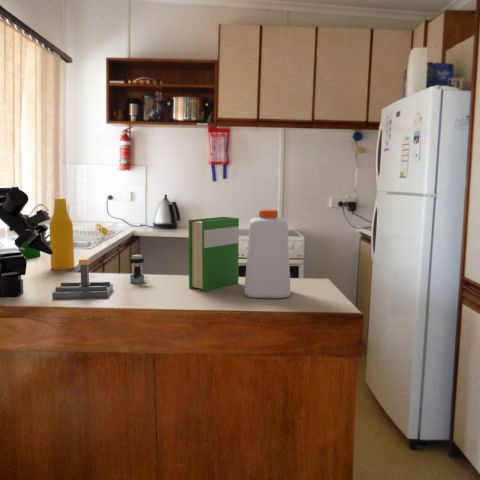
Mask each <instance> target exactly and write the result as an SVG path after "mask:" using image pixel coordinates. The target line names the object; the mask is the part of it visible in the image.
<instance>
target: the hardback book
mask: <svg viewBox="0 0 480 480" xmlns="http://www.w3.org/2000/svg"><path fill="white" fill-rule="evenodd" d="M239 219H240V218H239V217H232V216H231V217H229V216H220V217H219V216H216V217H207V218H195V219H194V218H193V219H188V289H189V290H190V289H191V290H193V289H197V288H198V289H201V291H202V292H203V293H205V292H209V291H213V290H217V289H221V288H225V287H230V286H235V285H238V284H239V246H240V245H239V237H240V235H239V233H240V229H239V228H240V227H239V225H240V220H239Z"/></svg>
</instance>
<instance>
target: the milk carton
mask: <svg viewBox="0 0 480 480" xmlns="http://www.w3.org/2000/svg"><path fill="white" fill-rule="evenodd" d="M23 215H27V214H23ZM38 225H40V223H39V224H38ZM18 236H19V235H17V237H18ZM28 244H29V243H28V241H27V242H26V243H25V244H24V245H23V247H22V248H20V249H19V248H18V247H17V249H18V250H19V251H20V252H22V255H23V256H24V257H25V258H26V259H33V258H38V257H41V251H38V250H35V249H32V248H29V247H26V246H27V245H28Z"/></svg>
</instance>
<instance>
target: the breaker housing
mask: <svg viewBox="0 0 480 480" xmlns="http://www.w3.org/2000/svg"><path fill="white" fill-rule="evenodd" d="M89 283H91V286H79V285H80V284H81V281H73V282H72V281H71V282H70V281H69V282H68V281H65V282H60V285H59V286H56V287H55V290H53V292H52V294H51V295H52V296H51V297H52V300H62V299H63V300H65V299H66V300H69V299H70V300H71V299H81V300H82V299H108V298H109V297H110V295H111V294H112V292H113V289H114V285H113V283H111V281H89ZM111 291H112V292H111ZM108 296H109V297H108Z"/></svg>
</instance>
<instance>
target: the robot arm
mask: <svg viewBox="0 0 480 480" xmlns="http://www.w3.org/2000/svg"><path fill="white" fill-rule="evenodd" d="M28 202H29V195H28V194H27V193H26V192H25V191H24V190H22V189H20V188H19V186H12V185H0V220H1V221H2V222H3V223H4V224H5V225H6V226H7V227H8V231H9V232H14V233H15V234H16V235H17V237H16V238H15V239H14V245H15V246H16V247H6V246H5V245H4V244H3V243H2V242H0V297H18V296H20V295H21V294H23V293H24V279H22V276H25V275H26V273H27V264H28V261H27V258H25V257H24V256H23V255H22V252H20V251H19V250H18V248H19V249H20V248H22V247H23V245H24V244H25V243H26V242H27V241H28V243H29V244H28V245H27V246H26V247H29V248H32V249H35V250H38V251H40V253H41V252H42V253H44V254H47V255H50V256H51V254H53V251H52V249H51V247H50V243H48V241H47V239H46V232H47V231H48V230H49V227H48V226H47V225H46V224H43V223H44V222H46V221H50V220H51V218H50V215H49V214H50V213H49V212H47V211H46V210H44V209H39V210H37V211H36V213H35V214H33V215H31V216H29V214H26V215H24V214H23V213H22V211H23V209H24V208H25V206H26V205H27V203H28ZM38 224H39V225H38ZM18 235H19V236H18Z"/></svg>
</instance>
